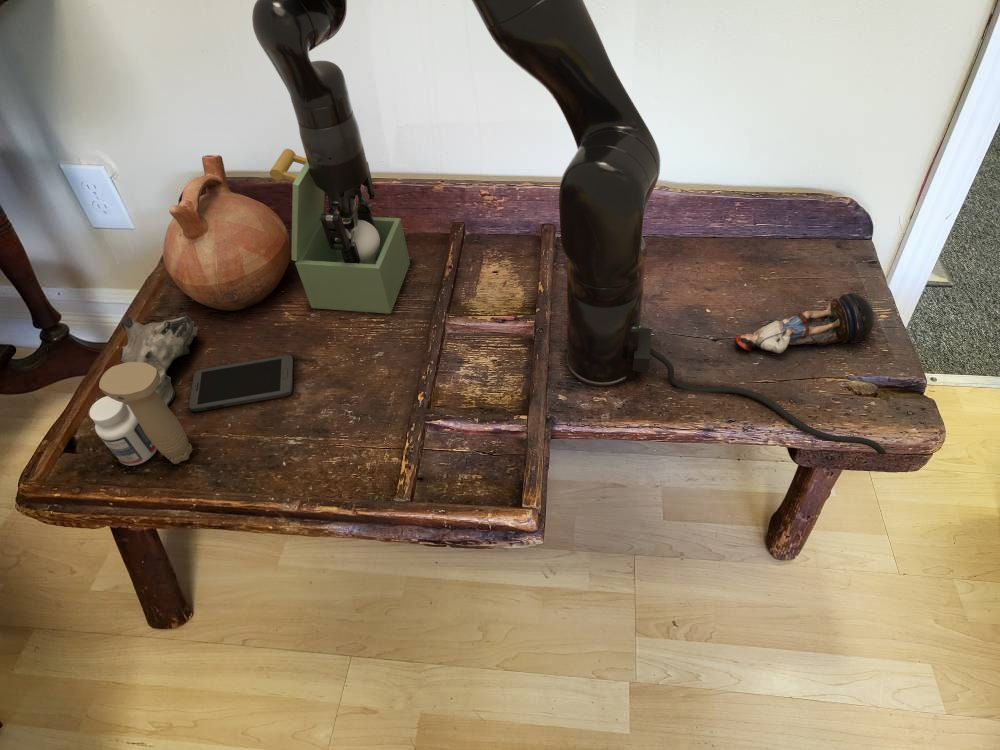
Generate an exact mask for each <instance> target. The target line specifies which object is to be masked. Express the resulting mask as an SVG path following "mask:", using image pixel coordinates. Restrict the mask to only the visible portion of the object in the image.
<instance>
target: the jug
mask: <svg viewBox="0 0 1000 750" xmlns="http://www.w3.org/2000/svg"><path fill="white" fill-rule="evenodd" d="M201 161H202V169H203V173H204V175H202V176H197V177H194V178H192V179H190V180H189V181H188V182H187V183H186V185H185V186H184V189H183V191H182V194H181V200H180V202H179V203H178V204H175V205H172V206H170V208H169V210H168V213H169V214H170V215H171V216H172V219H171V220H170V222H169V224H168V226H167V229H166V232H165V236H164V238H163V239H164V241H163V250H162V256H163V264H164V266H165V269H166V270H167V273H168V274H169V276H170V277H171V279H172V280H173V282H174V284H176V287H178V288H179V289H180V290H181V291H182V292H183V293H184V294H185V295H186V296H188V297H190V298H191V299H193V300H194V301H195V302H197V303H199V304H201V305H203V306H206V307H208V308H212V309H216V310H220V311H225V312H227V311H228V312H229V311H230V312H231V311H233V312H234V311H239V310H244V309H248V308H250V307H253V306H254V305H256V304H257V305H258V304H259V303H261V302H262V301H264V300H265V299H266V298H268V297H269V296H270V295H271V294H272V293H273V292H274V291H275V290H276V288H277V287H278V285H279V284H280V282H281V280H282V278H283V276H284V275H285V273H286V271H287V269H288V266H289V265H290V264H289V263H290V261H291V241H290V236H289V232H288V229H287V227H286V225H285V223H284V222H283V219H282V218H281V217H280V216H279V215H278V214H277V213H276V212H275V211H274V210H273V209H271V208H270V207H269V206H268V205H266V204H264V202H263V203H262V202H261V201H259V200H256V199H253V198H251V197H248V196H246V195H243V194H241V193H235V192H232V191H231V190H230V188H229V185H228V179H227V175H226V171H225V170H226V169H225V164H224V161H223V156H221V155H220V154H217V155H214V154H213V155H203V156H202V157H201ZM204 187H205V188H206V190H205V194H202V191H203V189H204Z"/></svg>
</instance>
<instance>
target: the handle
mask: <svg viewBox="0 0 1000 750" xmlns="http://www.w3.org/2000/svg"><path fill="white" fill-rule="evenodd" d="M159 383H160V374H159V372H158V371H157V369H156V368H154V367H153V366H151V365H149V364H147V363H142V362H127V363H123V364H122V363H119V364H115V365H113V366H111V367H110V368H108V369H107V370H106V371H105V372H104V373H103V374H102V376H101V377H100V379H99V383H98V387H99V389H100V391H101V392H102V393H103V394H104V395H105V396H108V397H110V398H112V399H114V400H116V401H119V402H122V403H125V404H126V405H128V406H129V408H130V409H131V411H132V413H133V414H134V416H135V417H136V419H137V421H138V422H139V424H140V426H141V428H142V429H143V431H144V433H145V434H146V436H147V437H148V438H149V440H150V441H151V442H152V444H153V445H154V446H155V447H156V448H157V451H158V452H160V453H161V455H163V456H164V457H165V458H166V459H167V460H168V461H169V462H171V463H172V464H173V465H174V464H175V465H177V464H179V463H181V462H185V461H187V460H189V459H190V455H191V454H192V453H193V451H194V450H193V446H192V445H191V443H189V438H188V436H187V434H186V432H185V430H184V427H183V426H182V424H181V422H180V421H179V420H178V418H177V416H176V415H175V414H174V413H173V412H172V411H171V409H170V408H169V407H167V405H166V404H165V403H164V402H163V400H162V399H161V398H160V396H159V395H158V394H157V392H156V391H155V390H156V388H157V387H158V385H159Z"/></svg>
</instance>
